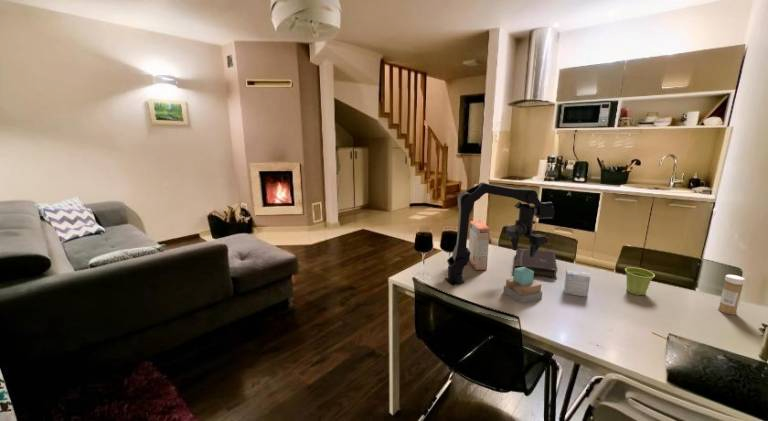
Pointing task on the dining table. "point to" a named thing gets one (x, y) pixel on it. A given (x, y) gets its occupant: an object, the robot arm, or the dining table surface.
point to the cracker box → (478, 245)
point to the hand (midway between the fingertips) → (522, 253)
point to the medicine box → (577, 283)
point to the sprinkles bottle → (731, 294)
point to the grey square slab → (522, 298)
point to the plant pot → (638, 280)
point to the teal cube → (523, 275)
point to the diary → (537, 262)
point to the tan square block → (523, 287)
